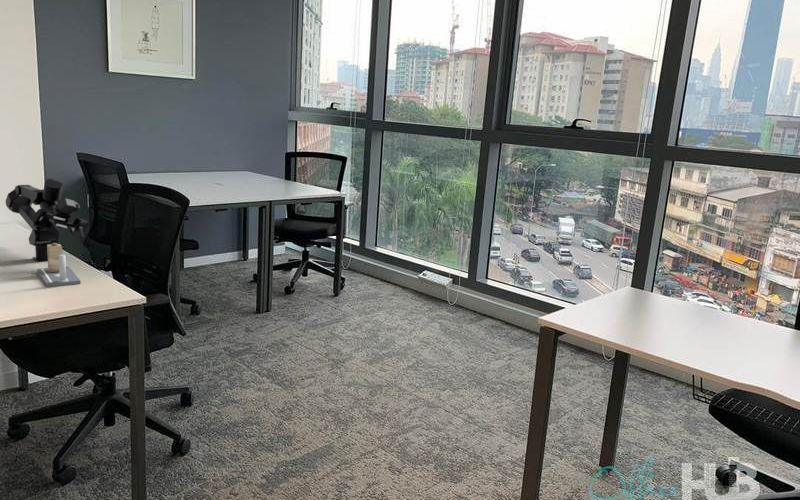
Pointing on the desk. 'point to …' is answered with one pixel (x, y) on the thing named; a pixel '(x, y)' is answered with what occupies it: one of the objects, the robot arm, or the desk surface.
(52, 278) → the gauge board
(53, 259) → the pointer block
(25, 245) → the desk surface
